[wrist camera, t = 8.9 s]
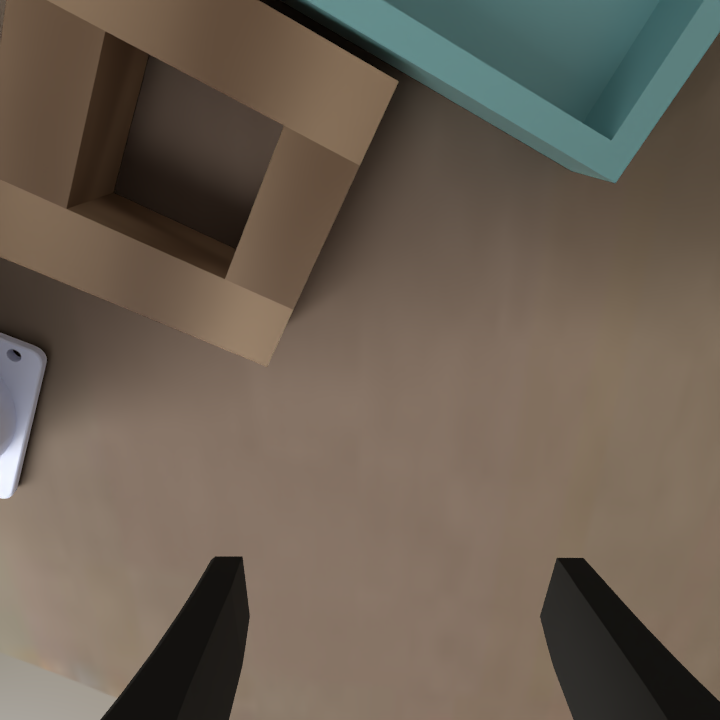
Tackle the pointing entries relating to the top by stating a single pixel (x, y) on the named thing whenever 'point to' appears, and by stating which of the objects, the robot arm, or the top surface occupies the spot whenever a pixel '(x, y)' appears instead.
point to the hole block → (108, 140)
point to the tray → (541, 64)
